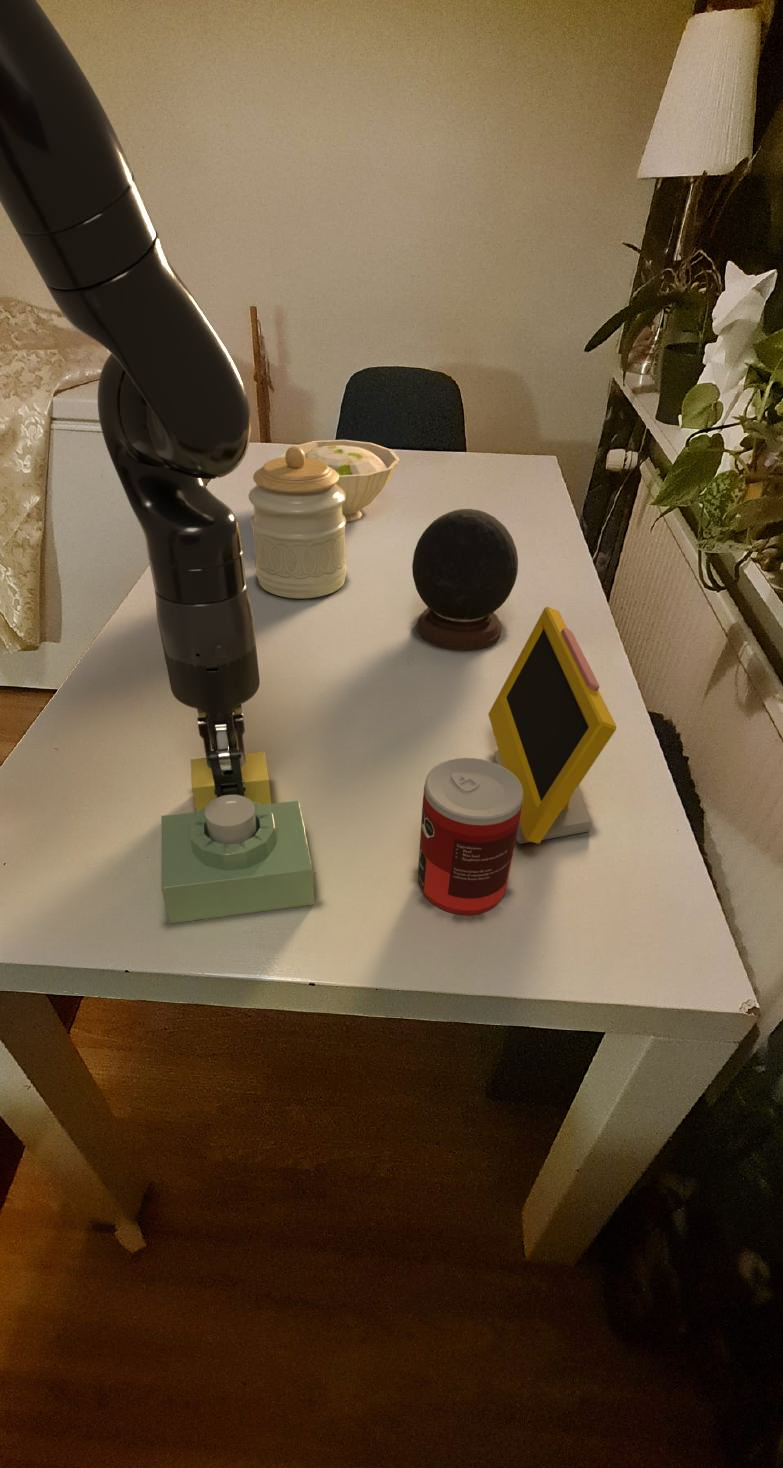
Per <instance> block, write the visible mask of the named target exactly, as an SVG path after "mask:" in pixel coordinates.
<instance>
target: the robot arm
mask: <svg viewBox="0 0 783 1468" xmlns="http://www.w3.org/2000/svg"><path fill="white" fill-rule="evenodd" d="M0 204H1V206H2V208H3V210H4V212H5V214H6V215H7V218H8V219H9V221H10V223H11V224H12V227H13V228H14V229H15V231H16V233H17V235H18V237H19V239H20V240H21V243H22V245H23V246H24V248H25V250H26V251H27V253H28V256H29V257H30V259H31V261H32V262H33V265H34V266H35V268H36V270H37V272H38V273H39V275H40V277H41V279H42V281H43V282H44V285H45V286H46V288H47V290H48V292H49V293H50V295H51V297H52V299H53V300H54V302H55V304H56V305H57V307H58V308H59V310H60V311H61V313H62V314H63V316H64V317H65V319H66V320H67V321H68V322H69V323H70V324H71V326H72V327H73V328H75V329H76V330H77V331H78V332H80V333H81V334H83V335H84V336H85V337H87V338H89V339H91V340H93V341H94V342H95V343H98V344H99V345H101V346H102V347H103V348H105V349H106V350H107V351H108V352H109V353H110V354H109V356H107V359H106V360H105V361H104V364H103V366H102V369H101V370H100V375H99V380H98V386H97V413H98V420H99V424H100V430H101V433H102V436H103V437H102V438H103V440H104V442H105V447H106V449H107V452H108V454H109V457H110V460H111V462H112V465H113V467H114V469H115V471H116V474H117V476H118V478H119V481H120V484H121V487H122V488H123V491H124V493H125V496H126V497H127V500H128V503H129V505H130V507H131V509H132V511H133V513H134V516H135V517H136V519H137V521H138V523H139V525H140V528H141V530H142V533H143V535H144V538H145V544H146V545H145V546H146V553H147V557H148V561H149V567H150V572H151V578H152V582H153V588H154V594H155V609H156V620H157V625H158V630H159V636H160V640H161V645H162V646H161V647H162V650H163V656H164V662H165V666H166V670H167V676H168V681H169V686H170V691H171V693H172V696H173V697H174V698H175V699H176V700H177V701H178V702H179V703H181V704H183V705H184V706H186V707H189V708H192V709H196V711H197V717H196V719H197V728H198V734H199V737H200V738H201V739H202V741H203V747H204V752H205V758H206V761H207V766H208V767H209V768H211V770H212V775H213V780H214V785H215V789H214V792H215V795H217V798H218V797H221V796H225V795H240V796H243V797H244V796H245V794H244V791H246V789H245V786H244V785H245V780H244V779H243V777H242V770H241V767H242V766H243V765H244V764H245V763H246V757H245V754H246V751H245V743H244V734H245V732H246V729H245V720H244V714H243V713H244V712H243V705H242V704H244V703H246V702H248V701H249V700H251V699H252V698H253V697H254V696H255V695H256V693H257V692H258V691H259V687H260V685H261V684H260V683H261V682H260V681H261V679H260V671H259V660H258V651H257V642H256V633H255V623H254V615H253V608H252V602H251V599H250V595H249V592H248V587H247V581H246V580H247V579H246V569H245V560H244V551H243V544H242V543H243V541H242V535H241V529H240V524H239V520H238V518H237V516H236V514H235V513H234V511H233V510H232V508H230V507H229V506H228V505H227V504H226V503H225V502H223V501H222V500H220V498H217V496H215V495H214V494H213V493H212V492H211V491H210V490H209V489H208V488H207V486H206V485H205V483H204V480H215V479H220V478H224V477H225V476H228V475H229V474H231V473H232V472H234V471H235V470H236V469H237V468H238V467H239V466H240V464H241V463H242V461H243V460H244V458H246V457H245V456H246V454H247V452H248V449H249V445H250V441H251V435H252V417H251V416H252V415H251V414H252V413H251V408H250V407H251V406H250V402H249V398H248V395H247V391H246V387H245V384H244V381H243V379H242V376H241V374H240V372H239V370H238V368H237V366H236V363H235V362H234V360H233V358H232V356H231V355H230V353H229V351H228V350H227V349H228V348H226V346H225V345H224V343H223V341H222V340H221V338H220V336H219V335H218V333H217V332H216V330H215V328H214V327H213V325H212V323H211V322H210V321H209V319H208V317H207V316H206V315H205V313H204V311H203V309H202V308H201V306H200V305H199V303H198V302H197V300H196V298H195V297H194V296H193V294H192V292H191V291H190V290H189V288H188V287H187V285H186V284H185V283H184V281H183V280H182V278H181V277H180V276H179V274H178V273H177V272H176V270H175V268H174V267H173V265H172V263H171V262H170V261H169V258H168V256H167V254H166V252H165V250H164V247H163V244H162V241H161V238H160V236H159V233H158V231H157V228H156V225H155V223H154V220H153V217H152V216H151V213H150V211H149V209H148V206H147V203H146V200H145V198H144V196H143V194H142V192H141V189H140V187H139V184H138V182H137V180H136V177H135V175H134V172H133V170H132V167H131V164H130V162H129V161H128V158H127V155H126V153H125V150H124V148H123V146H122V144H121V142H120V140H119V138H118V136H117V133H116V131H115V128H114V126H113V124H112V123H111V121H110V118H109V117H108V114H107V113H106V111H105V109H104V107H103V105H102V103H101V101H100V99H99V97H98V96H97V94H96V92H95V91H94V89H93V87H92V85H91V83H90V80H89V79H88V78H87V76H86V75H85V73H84V71H83V69H82V68H81V66H80V64H79V62H78V61H77V59H76V58H75V57H74V55H73V53H72V52H71V50H70V49H69V47H68V46H67V44H66V42H65V40H64V39H63V38H62V36H61V35H60V33H59V32H58V31H57V29H56V27H55V26H54V25H53V23H52V22H51V20H50V19H49V17H48V16H47V13H46V12H45V11H44V10H43V8H42V7H41V5H40V3H39V2H38V0H0Z"/></svg>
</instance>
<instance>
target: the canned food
mask: <svg viewBox="0 0 783 1468" xmlns="http://www.w3.org/2000/svg"><path fill="white" fill-rule="evenodd" d="M422 796H423V797H422V807H421V821H420V835H419V836H420V837H419V852H418V867H417V879H418V882H419V885H420V888H421V891H422V893H423V894H424V897H426V899H427V900H428V901H429V902H430V903H432V904H433V905H434V906H435V907H437V908H438V909H440V910H443V911H445V912H448V913H451V914H455V915H461V916H462V915H463V916H471V915H479V914H483V913H486V912H488V911H490V910H492V909H493V908H494V907H496V906H497V905H498V904H499V902H500V901H501V900H502V898H503V897H504V895H505V892H506V890H507V886H508V882H509V876H510V871H511V867H512V861H513V856H514V851H515V845H516V842H517V839H516V836H517V831H518V826H519V821H520V816H521V809H522V803H523V789H522V785H521V783H520V782H519V780H518V779H517V778H516V776H515V775H514V774H513V773H511V772H510V771H509V770H507V769H506V768H504V767H502V766H501V765H498V764H496V763H495V762H493V761H490V760H486V759H483V758H482V759H481V758H476V757H459V758H458V757H457V758H452V759H448V760H445V761H443V762H439V763H438V764H437V765H435V766H433V767H432V769H430V770H429V771H428V773H427V775H426V777H425V782H424V786H423V795H422Z"/></svg>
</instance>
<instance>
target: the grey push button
mask: <svg viewBox="0 0 783 1468" xmlns="http://www.w3.org/2000/svg"><path fill="white" fill-rule="evenodd" d="M205 818H206V824H207V829H208V834H209V836H210V838H211V839H212V840H214V841H215V842H218V843H222V844H226V845H228V844H236V843H242V842H244V841H246V840H248V839H250V838H251V837H252V836H253V835H254V834H255V832H256V829H257V824H256V816H255V808H254V805H253V803H252V802H251V801H250V800H249V799H248V798H246V797H243V796H240V795H225V796H221V797H218V798H216V799H214V800H212V801H211V802H210V803H209V804H208V805H207V806H206V808H205Z"/></svg>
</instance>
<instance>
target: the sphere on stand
mask: <svg viewBox="0 0 783 1468" xmlns="http://www.w3.org/2000/svg"><path fill="white" fill-rule="evenodd" d="M411 568H412V578H413V582H414V586H415V589H416V591H417V593H418V596H419V598H420V599H421V601H422V602H423V603H424V604H425V606H426V608H425V609H424V610H423V612H422V613H421V614H420V615H419V617H417V619H416V620H417V621H416V632H417V634H418V635H419V637H420V638H422V640H424V641H425V642H427V643H428V644H431V645H433V646H435V647H438V648H442V649H444V650H445V649H446V650H451V651H475V650H481V649H485V648H488V647H490V646H493V645H494V644H495V643H497V642H498V641H499V640H500V638H501V636H502V631H503V630H502V629H503V627H502V623H501V621H500V620H499V619H498V615H496V613H495V612H496V611H497V610H498V609H499V608H500V607H502V605H503V604H504V603H505V602H506V601H507V600H508V598H509V597H510V595H511V593H512V591H513V588H514V586H515V585H516V581H517V577H518V572H519V571H518V570H519V557H518V550H517V545H516V544H515V540H514V538H513V537H512V535H511V533H510V532H509V530H508V528H507V526H505V525H504V524H503V523H502V522H501V521H499V520H498V518H496V517H495V516H493V515H491V514H489V513H488V512H486V511H482V510H479V509H472V508H461V509H460V508H459V509H455V510H451V511H449V512H446V513H444V514H442V515H441V516H438V517H437V518H435V519H434V520H433V521H432V522H431V523H430V524H429V525H428V526H427V527H426V528H425V530H424V531H423V533H422V534H421V535H420V538H419V539H418V541H417V543H416V546H415V549H414V552H413V558H412V564H411Z"/></svg>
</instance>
